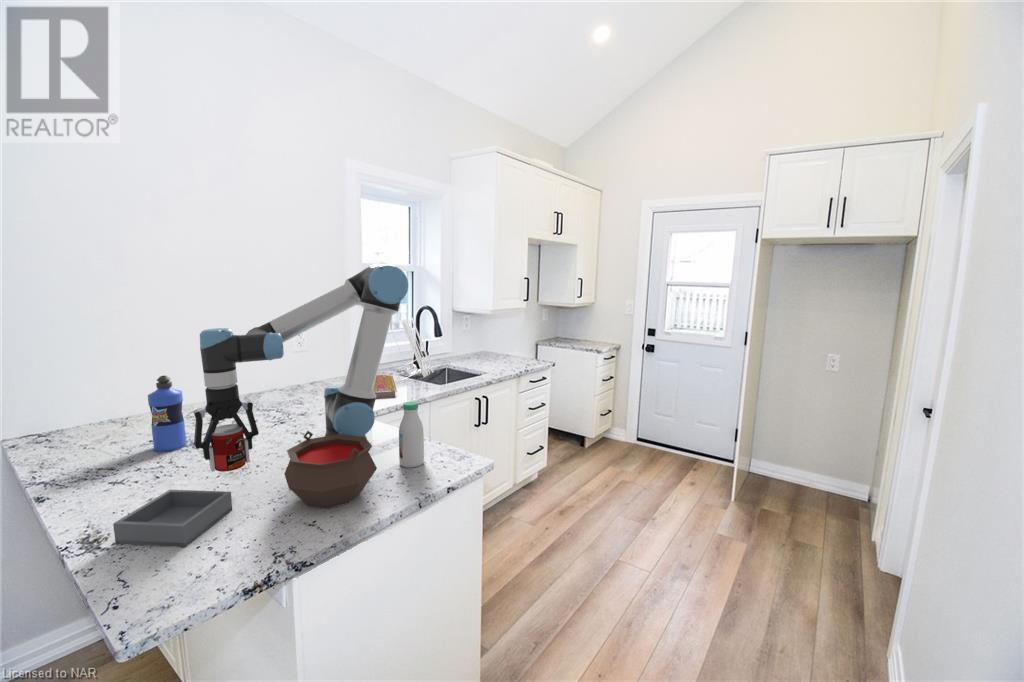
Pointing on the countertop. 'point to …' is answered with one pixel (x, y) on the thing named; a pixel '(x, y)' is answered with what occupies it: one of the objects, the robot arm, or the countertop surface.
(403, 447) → the milk bottle
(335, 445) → the brown cooking pot
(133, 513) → the bin
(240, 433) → the canned food
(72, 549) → the countertop surface
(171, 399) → the water bottle
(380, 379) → the orange triangular wedge
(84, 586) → the countertop surface
